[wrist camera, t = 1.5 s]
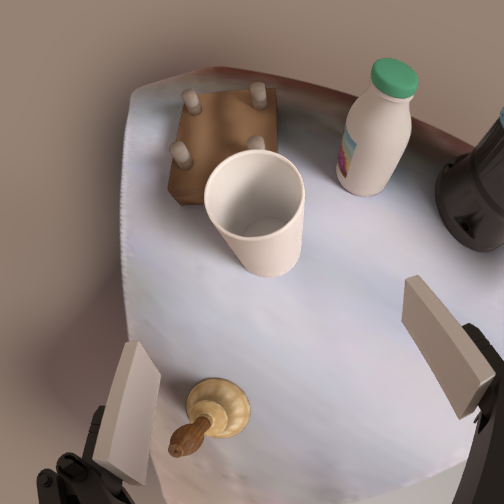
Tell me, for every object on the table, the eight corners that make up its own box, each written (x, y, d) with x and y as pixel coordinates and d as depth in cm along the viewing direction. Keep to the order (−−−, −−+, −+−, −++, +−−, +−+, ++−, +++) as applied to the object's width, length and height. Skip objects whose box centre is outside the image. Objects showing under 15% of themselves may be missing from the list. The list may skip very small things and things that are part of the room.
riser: (277, 109, 45) (273, 69, 37) (278, 202, 41) (274, 167, 32) (194, 115, 47) (178, 79, 39) (180, 205, 43) (155, 175, 34)
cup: (227, 234, 41) (189, 176, 25) (281, 206, 41) (273, 135, 25) (255, 289, 38) (229, 259, 23) (312, 258, 38) (324, 209, 23)
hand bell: (237, 370, 36) (200, 392, 20) (259, 428, 33) (238, 484, 18) (178, 387, 36) (113, 412, 21) (200, 443, 34) (149, 495, 18)
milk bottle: (394, 169, 40) (441, 72, 21) (372, 208, 39) (423, 114, 20) (350, 143, 42) (373, 38, 23) (325, 179, 41) (342, 72, 22)
